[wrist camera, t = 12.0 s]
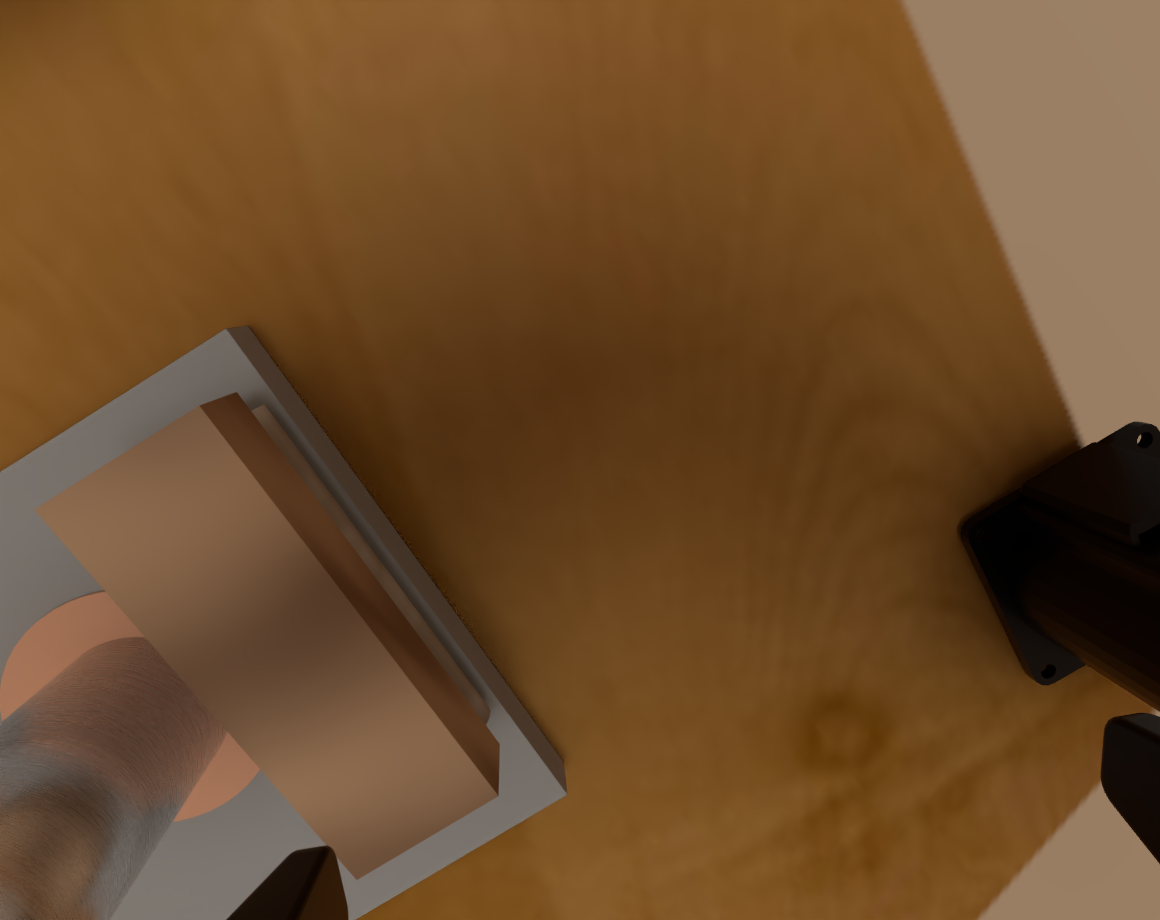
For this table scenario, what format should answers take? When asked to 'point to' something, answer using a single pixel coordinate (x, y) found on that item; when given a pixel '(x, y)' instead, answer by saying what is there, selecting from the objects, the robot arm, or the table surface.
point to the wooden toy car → (285, 628)
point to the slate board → (232, 780)
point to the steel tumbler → (96, 780)
